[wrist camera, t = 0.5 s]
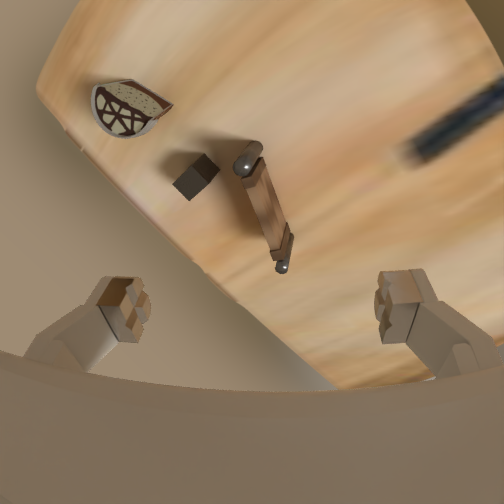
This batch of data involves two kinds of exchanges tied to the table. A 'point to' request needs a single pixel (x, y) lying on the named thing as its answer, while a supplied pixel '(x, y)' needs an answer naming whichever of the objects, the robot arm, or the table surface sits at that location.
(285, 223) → the brown wooden bar
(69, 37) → the table surface
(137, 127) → the yogurt cup
